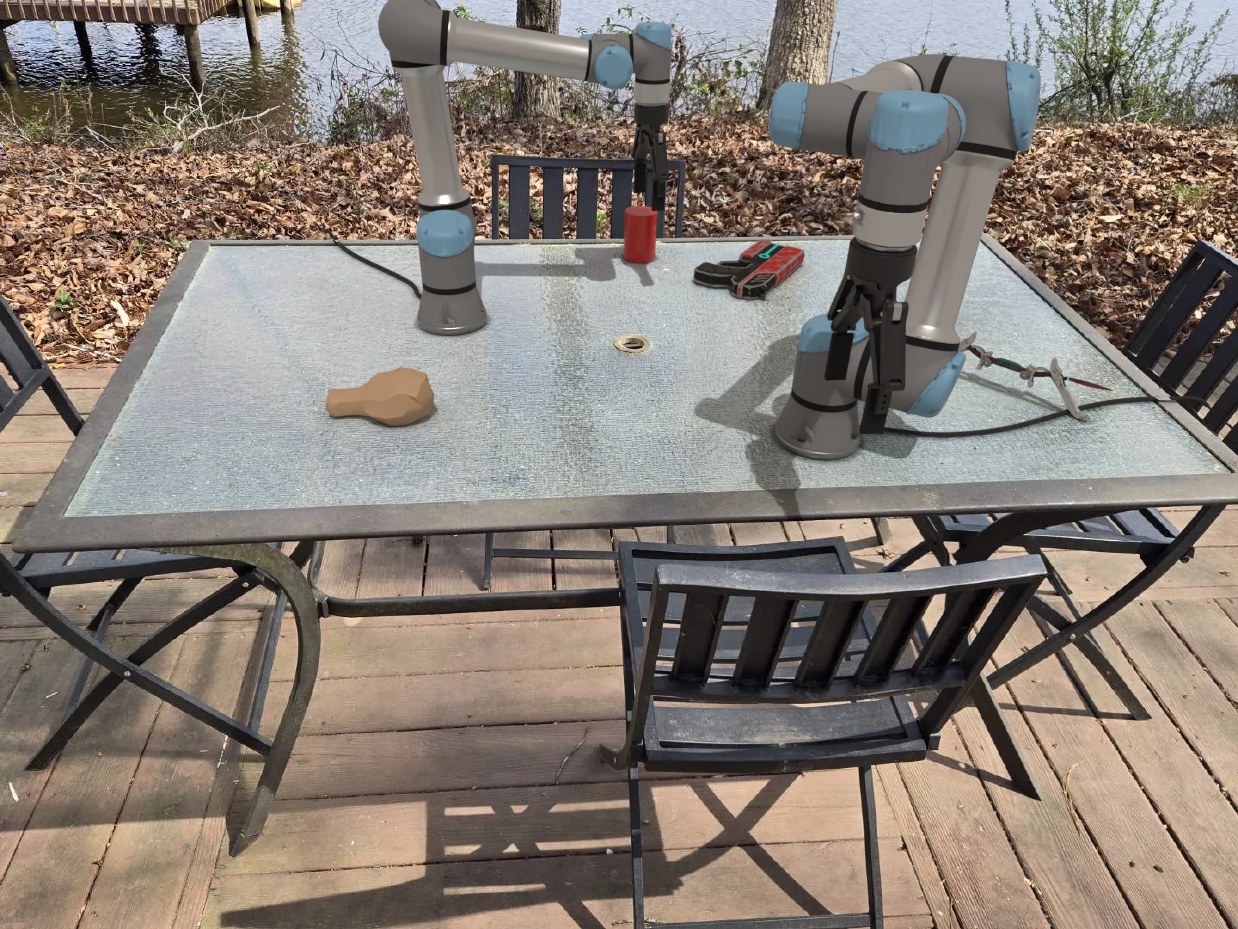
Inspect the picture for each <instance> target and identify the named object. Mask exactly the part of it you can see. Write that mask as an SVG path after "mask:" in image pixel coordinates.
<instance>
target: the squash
mask: <svg viewBox="0 0 1238 929" xmlns="http://www.w3.org/2000/svg"><path fill="white" fill-rule="evenodd" d="M434 399H435V393H434V390H433V389H432V387H431V384H430V381H429V377H428V373H426V372H423V371H420V370H417V369H414V368H409V367H405V366H404V367H403V366H401V367H398V368H394V369H392V370H387V371H381V372H377V373H376V374H374V375H372V377H370V378H369V380H368V381H367V382H366V383H363V384H362V385H360V386H359V387H349V388H332V389H328V391H327V396H326V399H325V411H326V412H327V413H328V414H329V415H330V416H331V417H332V418H336V417H343V416H356V415H357V416H358V415H360V416H364V417H370V418H372V419H374V420H376V421H379V422H380V423H383V424H385V425H388V426H389V427H390V426H405V425H406V426H407V425H410V424H412V423H414V422H416V421H418V420H420V419H422V418H424V417H426V416H427V415H429V413H431V411H432V410H433V409H434Z"/></svg>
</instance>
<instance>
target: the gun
mask: <svg viewBox="0 0 1238 929" xmlns="http://www.w3.org/2000/svg"><path fill="white" fill-rule="evenodd" d="M805 256H806V255H805V249H801V248H798V247H794V246H791V245H782V244H781V245H780V244H776V243H772V240H767V239H759V240H757V241H756V242H754V243H753V244H752V245H750V246H749V247H748V248H746V249H745V250H743V251H741V253H740V255H739V256H738V260H736V259H735V260H720V261H719V262H717V263H712V262H709V261H706V260H705V261H704V262H702V263H701V264H699V265H697V266H696V267H693V279H692V281H694V282H696V283H697V284H702V285H703V286H708V287H713V288H714V287H715V288H729V293H730V294H731V295H732V296H735V297H736V298H737V299H744V300H745V299H746V300H754V299H759V300H762V301H765V300H766V297H767V293H768V292H770V291H771V290H772V289H774V288H776V287H778V286H780V284H781V283H782V282H784V281H785V280H786V279H788V277H789V276H790V275H792V274H793V273H794V272H795V271H796V270H797V269H798V268H799V267H800V266H802V265H803V262H804V259H805Z"/></svg>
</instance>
